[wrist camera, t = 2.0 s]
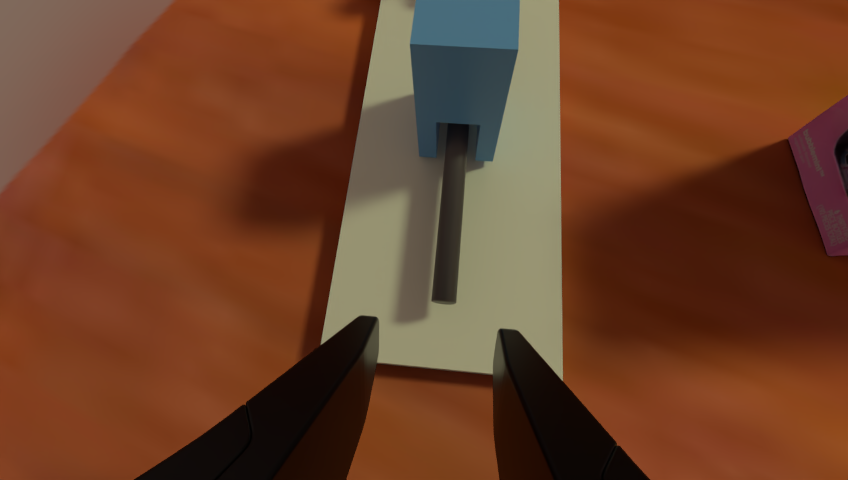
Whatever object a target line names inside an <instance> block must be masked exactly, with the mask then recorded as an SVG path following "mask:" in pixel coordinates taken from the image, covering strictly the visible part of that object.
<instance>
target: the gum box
mask: <svg viewBox="0 0 848 480" xmlns="http://www.w3.org/2000/svg"><path fill="white" fill-rule="evenodd" d="M788 140H789V143H790V146H791V149H792V152H793V155H794V157H795V160H796V163H797V166H798V169H799V172H800V176H801V180H802V183H803V187H804V190H805V193H806V196H807V198H808V201H809V204H810V207H811V210H812V212H813V215H814V217H815V220H816V223H817V225H818V228H819V231H820V234H821V237H822V240H823V243H824V246H825V249H826V252H827V255H829V256H839V255H848V96H846V97H845V98H843V99H842V100H840V101H839V102H837V103H836V104H835V105H833V106H832V107H830V108H829V109H827V110H826V111H825V112H823V113H822V114H820V115H819V116H818V117H816V118H815V119H813V120H812V121H811V122H809V123H808V124H806V125H805V126H804V127H802V128H801V129H800V130H798V131H797V132H795V133H794V134H793V135H791V136H790V137H789V138H788Z"/></svg>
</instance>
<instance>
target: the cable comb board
mask: <svg viewBox="0 0 848 480" xmlns="http://www.w3.org/2000/svg"><path fill="white" fill-rule="evenodd" d="M415 2H416V0H381V3H380V8H379V14H378V20H377V25H376V31H375V37H374V43H373V48H372V54H371V60H370V65H369V71H368V77H367V83H366V88H365V94H364V100H363V105H362V111H361V117H360V123H359V128H358V134H357V140H356V145H355V151H354V157H353V163H352V168H351V174H350V180H349V185H348V191H347V197H346V203H345V208H344V214H343V220H342V226H341V231H340V237H339V243H338V248H337V254H336V260H335V266H334V271H333V277H332V283H331V288H330V294H329V300H328V306H327V311H326V317H325V323H324V328H323V334H322V340H321V345H322V344H323V343H324V342H325V341H327V340H328V339H329V338H331V337H332V336H333V335H335V334H336V333H337V332H339V331H340V330H341V329H342V328H344V327H345V326H346V325H348V324H349V323H350V322H352V321H353V320H354V319H355V318H357V317H358V316H360V315H366V316H376V317H377V318H378V319H379V354H378V360H377V364H386V365H396V366H406V367H416V368H426V369H436V370H446V371H456V372H466V373H476V374H485V375H493V358H494V351H495V344H496V338H497V332H498V330H499V329H500V328H505V329H515V330H518V331H519V332H520V333H521V334H522V335H523V336H524V337H525V339H526V340H527V341H528V342H529V343H530V344H531V345H532V347H533V348H534V349H535V350H536V351H537V352H538V353H539V355H540V356H541V357H542V358H543V359H544V360H545V361H546V363H547V364H548V365H549V366H550V367H551V368H552V369H553V371H554V372H555V373H556V374H557V375H558V376H559V377H560V379H561V380H562V381H563V349H562V255H561V162H560V68H559V0H520V14H519V47H518V54H517V58H516V62H515V67H514V71H513V75H512V80H511V84H510V88H509V93H508V97H507V102H506V106H505V110H504V115H503V119H502V123H501V128H500V132H499V136H498V141H497V145H496V149H495V154H494V158H493V162H491V161H476V160H475V154H476V139H477V125H471V124H455V123H440V129H439V139H438V148H437V158H432V157H419V148H418V136H417V124H416V112H415V101H414V89H413V77H412V65H411V53H410V39H411V31H412V24H413V17H414V10H415Z"/></svg>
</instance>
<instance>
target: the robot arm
mask: <svg viewBox="0 0 848 480" xmlns="http://www.w3.org/2000/svg"><path fill="white" fill-rule="evenodd" d="M378 354H379V319H378V318H377V317H376V316H366V315H360V316H358V317H357V318H355V319H354V320H353V321H352V322H350V323H349V324H348V325H346V326H345V327H344V328H342V329H341V330H340V331H339V332H337V333H336V334H335V335H333V336H332V337H331V338H329V339H328V340H327V341H325V342H324V343H323V344H322V345H320V346H319V347H318V348H316V349H315V350H314V351H312V352H311V353H310V354H309V355H307V356H306V357H305V358H303V359H302V360H301V361H299V362H298V363H297V364H295V365H294V366H293V367H292V368H290V369H289V370H288V371H286V372H285V373H284V374H282V375H281V376H280V377H279V378H277V379H276V380H275V381H273V382H272V383H271V384H269V385H268V386H267V387H265V388H264V389H263V390H262V391H260V392H259V393H258V394H256V395H255V396H254V397H252V398H251V399H250V400H249V401H247V402H246V406H245V405H242V406H240V407H239V408H238V409H237V410H235V411H234V412H233V413H231V414H230V415H229V416H227V417H226V418H225V419H223V420H222V421H221V422H219V423H218V424H216V425H215V426H214V427H212V428H211V429H210V430H208V431H207V432H206V433H204V434H203V435H201V436H200V437H198V438H197V439H195V440H194V441H192V442H191V443H189V444H188V445H186V446H185V447H183V448H182V449H180V450H179V451H177V452H176V453H174V454H173V455H172V456H170V457H168V458H167V459H165V460H164V461H162V462H161V463H159V464H158V465H156V466H154V467H153V468H151V469H150V470H148V471H147V472H145V473H143V474H142V475H140V476H139V477H137V478H136V479H134V480H346V478H347V475H348V472H349V469H350V466H351V463H352V460H353V457H354V454H355V451H356V448H357V445H358V442H359V439H360V436H361V433H362V430H363V426H364V423H365V419H366V415H367V410H368V406H369V401H370V396H371V390H372V385H373V380H374V375H375V370H376V365H377V360H378ZM493 426H494V441H495V449H496V457H497V464H498V472H499V479H500V480H650V479H649V478H648V477H647V476H646V475H645V474H644V473H643V472H642V470H641V469H640V468H639V467H638V466H637V465H636V464H635V463H634V462H633V461H632V459H631V458H630V457H629V456H628V455H627V454H626V453H625V451H624V450H623V449H622V448H621V447H620V446H617V443H616V441H615V440H614V439H613V438H612V437H611V436H610V435H609V433H608V432H607V431H606V430H605V429H604V428H603V427H602V425H601V424H600V423H599V422H598V421H597V420H596V419H595V417H594V416H593V415H592V414H591V413H590V412H589V411H588V409H587V408H586V407H585V406H584V405H583V404H582V403H581V401H580V400H579V399H578V398H577V397H576V396H575V395H574V393H573V392H572V391H571V390H570V389H569V388H568V387H567V385H566V384H565V383H564V382H563V381H562V380H561V379H560V377H559V376H558V375H557V374H556V373H555V372H554V371H553V369H552V368H551V367H550V366H549V365H548V364H547V363H546V361H545V360H544V359H543V358H542V357H541V356H540V355H539V353H538V352H537V351H536V350H535V349H534V348H533V347H532V345H531V344H530V343H529V342H528V341H527V340H526V339H525V337H524V336H523V335H522V334H521V333H520V332H519V331H518V330H515V329H505V328H500V329H499V330H498V332H497V338H496V344H495V351H494V358H493Z"/></svg>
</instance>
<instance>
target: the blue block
mask: <svg viewBox="0 0 848 480" xmlns="http://www.w3.org/2000/svg"><path fill="white" fill-rule="evenodd" d="M519 14H520V0H416V2H415V10H414V17H413V24H412V31H411V39H410V53H411V65H412V77H413V89H414V101H415V112H416V124H417V136H418V148H419V157H432V158H437V148H438V139H439V129H440V123H455V124H471V125H477V139H476V154H475V160H476V161H491V162H493V158H494V154H495V149H496V145H497V141H498V136H499V132H500V128H501V123H502V119H503V115H504V110H505V106H506V102H507V97H508V93H509V88H510V84H511V80H512V75H513V71H514V67H515V62H516V58H517V54H518V47H519Z"/></svg>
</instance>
